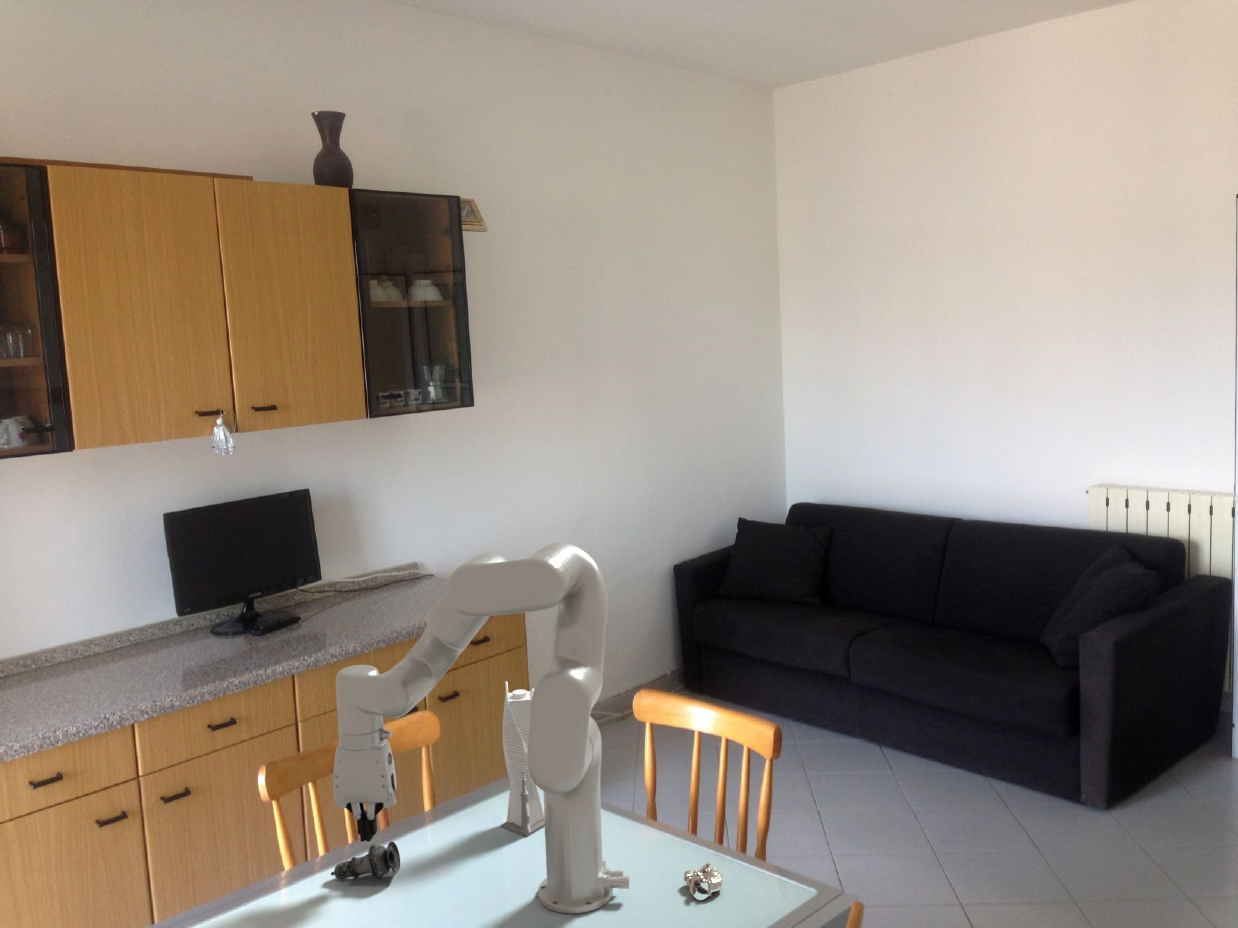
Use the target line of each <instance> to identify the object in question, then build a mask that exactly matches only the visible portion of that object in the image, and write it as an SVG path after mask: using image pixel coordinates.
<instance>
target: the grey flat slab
mask: <svg viewBox="0 0 1238 928" xmlns="http://www.w3.org/2000/svg"><path fill="white" fill-rule="evenodd" d="M395 875H396V873H395V872H393V871H392V870H391V869H390V870H389V872H388V873H387V874H385V875H384V876H382V877H381V878H380V879H375V878H374V877H373V875H372V873H367V874H363V875H360V876H359V877H358V878H355V877H352V879H351V881H350V882H349V883H348V887H389V886H390V884H391V882H392V881H393V879H394V877H395Z"/></svg>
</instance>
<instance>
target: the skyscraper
mask: <svg viewBox="0 0 1238 928" xmlns="http://www.w3.org/2000/svg"><path fill="white" fill-rule="evenodd" d="M508 684H509V683H508V681H507V680H505V681H504V688H505V695H504V705H503V716H502V746H503V747H502V748H503V755H504V762H505V767H506V770H507V772H506V773H507V775H508V780H509V783H510V786H509V794H508V795H509V797H508V803H507V804H508V805H507V815H506V821H505V822H503V823H501V824H500V825H499V828H501V829H504V830H507V831H510V832H512V833H514V834H518V835H521V836H522V837H526V838H528V837H529V836H532V835H533V834H534V833H536V832H538V831H540V830H542V829H543V828H545V820H544V807H543V804H542V801H541V797H540V792H539V789H538V788H539V787H538V786H537V785H536V784H535V783H534V782H533V780H532V778H531V776H530V774H529V771H528V767H527V747H528V735H529V724H530V712H531V703H532V697H533V693H534V689H535V687H532V688H531V691H530V690H529V691H528V690H526V689H515V690H513V691H512V692H509V686H508Z"/></svg>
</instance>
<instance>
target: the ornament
mask: <svg viewBox="0 0 1238 928" xmlns="http://www.w3.org/2000/svg"><path fill="white" fill-rule="evenodd" d="M710 867H711V862H707V863H705V864H704V865H703V866H702V867H700V868H699V870H698V869H694V870H693V871H692V870H691V869H690V870H686V871H685V872H684V873H683V881H684V883H685V882H686V883H685V884H686V885H687V887H688V889H689V893H690V894H692V895H695V893H696V891H697V889H698V887H697V886H700V885H701V883H706V884H707V885H708V892H707V891H706V893H707V895H709V894H710V893H711V890H715V889H718V888H719V887H721V886H722V887H723V875H722V874H721V873H720V872H719V871H718V870H717V868H716V867H712V868H710ZM711 894H712V893H711ZM692 895H691V896H692Z"/></svg>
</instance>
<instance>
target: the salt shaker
mask: <svg viewBox="0 0 1238 928" xmlns="http://www.w3.org/2000/svg"><path fill="white" fill-rule="evenodd" d="M400 855H401V854H400V852H399V848H398V846H397V844H396V843H395V842H394V841H393V840H392V841H388V844H387V847H385V846H384V845H379V844H378V845H375V844H371V845H370V846H369V848H368V853H367V854H365V855H362V856H359V857H355V856H353V857H351V859H350V860H349V859H348V860H346V861H343V862H339V863H337V864H336V865H335V866H334V870H333V871H332V872H330V875H331V876H335V878H336V879H337V880H339V881H342V880H346V879H350V878H353V877H355V878H358V877H359V876H360V875H363V874H367V873H372V875H373V877H374V878H375V879H380V878H381V877H382V876H384V875H385V874H387V873H388V872H389V870H392V871H393V872H395V873H398V872H399V871H400V869H401V856H400Z"/></svg>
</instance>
